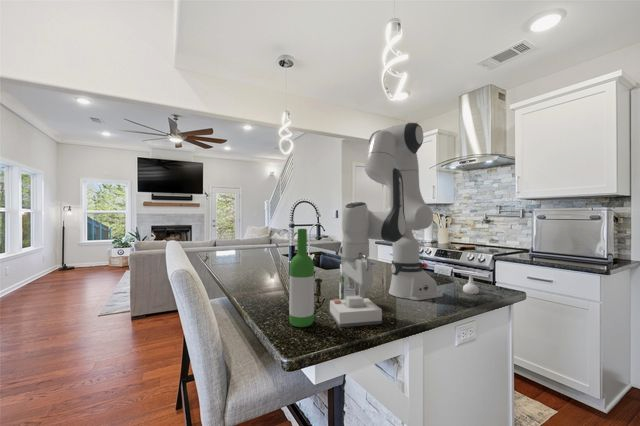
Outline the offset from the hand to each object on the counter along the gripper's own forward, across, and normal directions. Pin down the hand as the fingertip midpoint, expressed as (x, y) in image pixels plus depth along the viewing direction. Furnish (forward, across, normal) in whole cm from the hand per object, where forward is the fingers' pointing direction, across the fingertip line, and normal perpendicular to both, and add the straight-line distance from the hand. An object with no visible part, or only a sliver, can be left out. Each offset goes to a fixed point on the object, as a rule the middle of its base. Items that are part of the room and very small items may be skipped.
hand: (356, 292), depth 95 cm
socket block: (+9, 0, +1) cm, 9 cm away
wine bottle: (+8, -1, +19) cm, 21 cm away
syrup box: (+9, +17, -2) cm, 19 cm away
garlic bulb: (+10, +18, -60) cm, 64 cm away
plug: (+8, 0, +1) cm, 8 cm away
